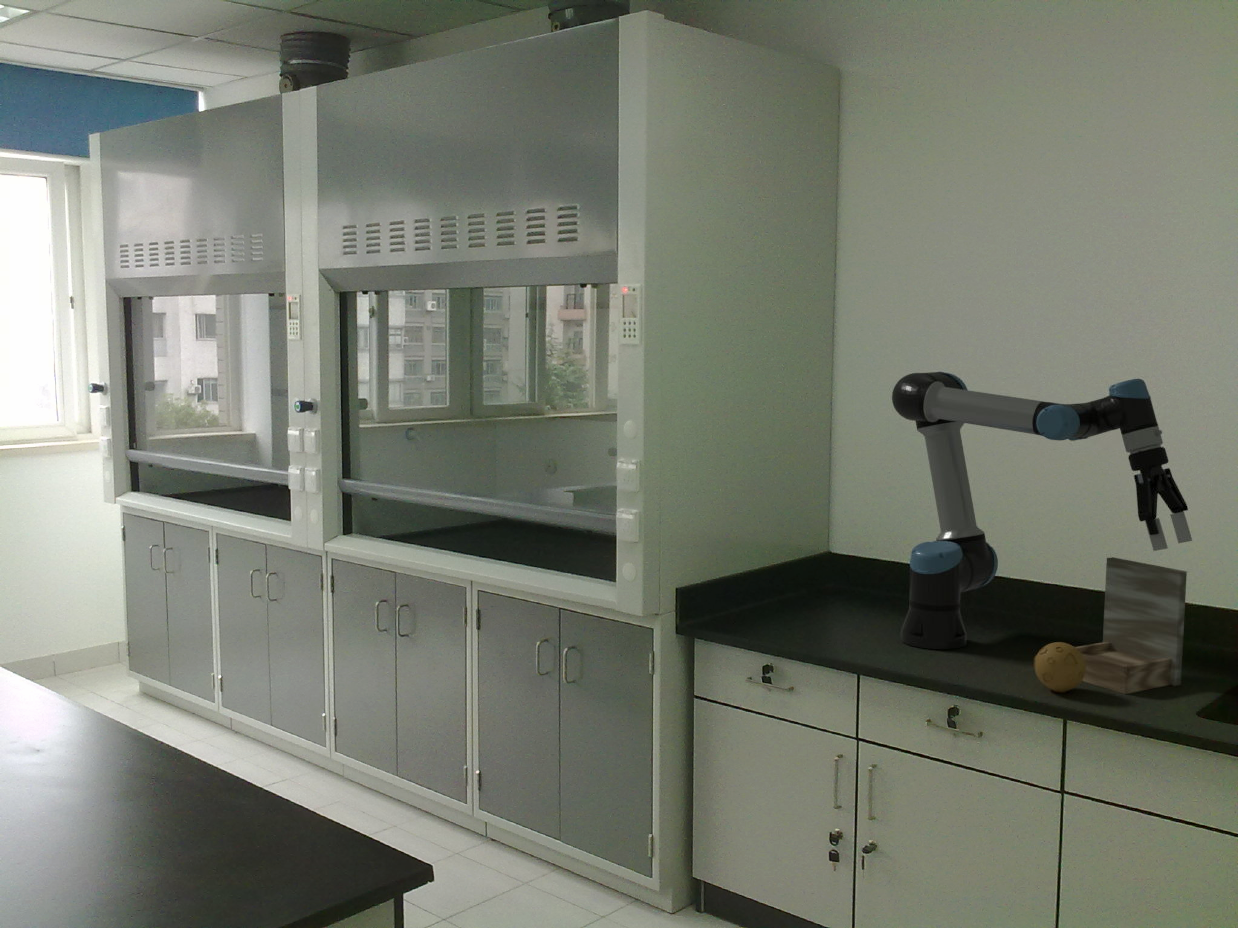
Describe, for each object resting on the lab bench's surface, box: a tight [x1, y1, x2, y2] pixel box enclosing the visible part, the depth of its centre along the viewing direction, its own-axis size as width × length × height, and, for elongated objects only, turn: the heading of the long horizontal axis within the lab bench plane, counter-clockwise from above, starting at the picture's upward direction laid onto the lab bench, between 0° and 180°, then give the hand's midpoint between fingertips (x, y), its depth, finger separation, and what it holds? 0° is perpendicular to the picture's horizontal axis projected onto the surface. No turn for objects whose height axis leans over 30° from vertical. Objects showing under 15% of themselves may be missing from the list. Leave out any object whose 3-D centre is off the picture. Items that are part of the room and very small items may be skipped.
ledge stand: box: [1074, 556, 1188, 695], centre depth 245 cm, size 16×18×24 cm
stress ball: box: [1033, 641, 1086, 693], centre depth 237 cm, size 10×10×10 cm
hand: (1173, 545), depth 248 cm, fingers open, 13 cm apart
